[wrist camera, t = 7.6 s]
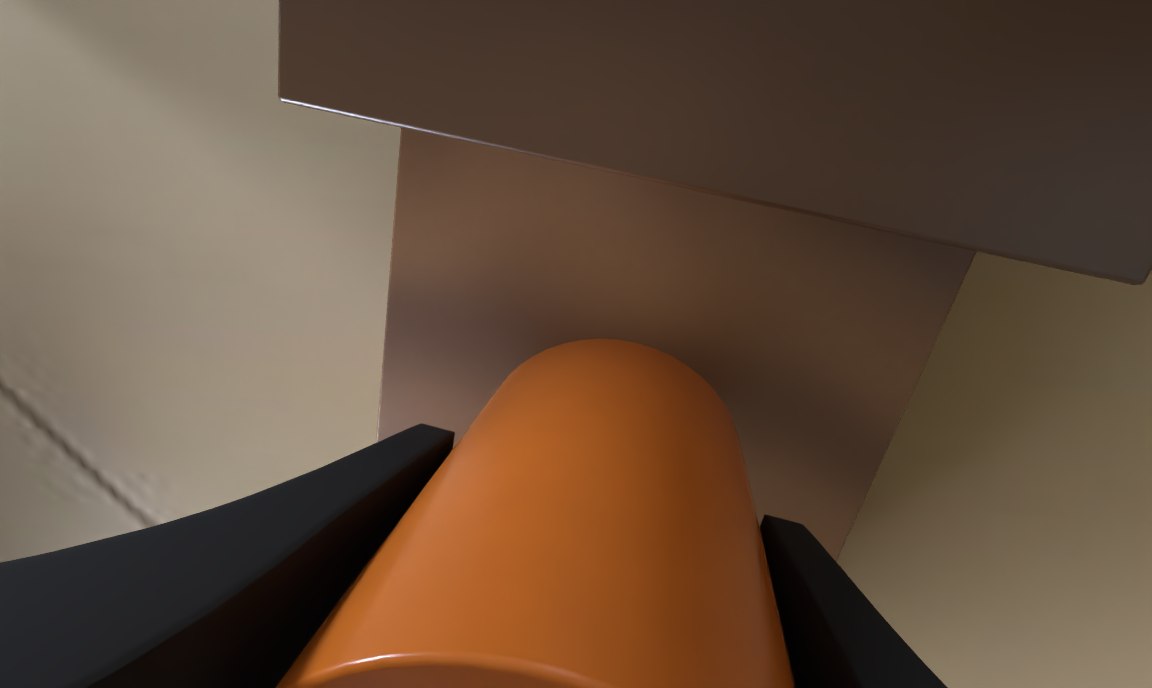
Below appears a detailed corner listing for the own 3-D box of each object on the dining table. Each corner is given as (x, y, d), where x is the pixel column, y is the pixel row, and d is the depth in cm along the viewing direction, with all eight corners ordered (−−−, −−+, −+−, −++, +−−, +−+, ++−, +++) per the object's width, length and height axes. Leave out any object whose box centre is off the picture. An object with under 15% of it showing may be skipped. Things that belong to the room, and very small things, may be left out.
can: (779, 375, 10) (975, 802, 3) (700, 597, 12) (732, 1152, 5) (500, 308, 10) (209, 571, 4) (466, 531, 12) (227, 965, 6)
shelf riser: (793, 570, 16) (855, 790, 11) (403, 463, 17) (273, 613, 12) (1069, -85, 11) (1511, -351, 5) (468, -182, 12) (278, -489, 6)
